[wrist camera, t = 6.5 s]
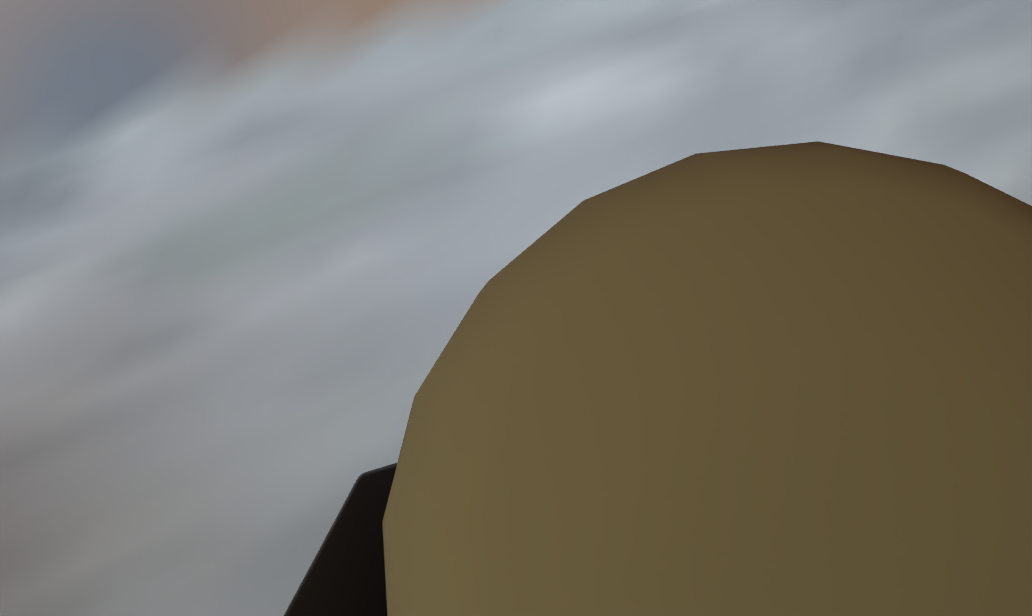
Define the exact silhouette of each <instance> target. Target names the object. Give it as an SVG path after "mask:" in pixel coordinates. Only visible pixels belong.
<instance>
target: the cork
mask: <svg viewBox="0 0 1032 616" xmlns="http://www.w3.org/2000/svg"><path fill="white" fill-rule="evenodd" d="M382 523H383V542H384V560H385V579H386V597H387V616H1032V206H1030V205H1028V204H1026V203H1024V202H1022V201H1020V200H1018V199H1016V198H1014V197H1012V196H1010V195H1008V194H1006V193H1004V192H1002V191H1000V190H998V189H996V188H994V187H992V186H990V185H988V184H986V183H984V182H982V181H979V180H977V179H975V178H973V177H971V176H969V175H967V174H965V173H963V172H960V171H958V170H955V169H953V168H950V167H948V166H945V165H942V164H936V163H931V162H926V161H920V160H915V159H910V158H904V157H899V156H893V155H888V154H883V153H877V152H872V151H867V150H861V149H856V148H850V147H845V146H840V145H834V144H829V143H824V142H809V143H799V144H789V145H779V146H769V147H759V148H749V149H739V150H729V151H719V152H709V153H699V154H694V155H692V156H689V157H687V158H685V159H682V160H680V161H677V162H675V163H673V164H670V165H668V166H665V167H663V168H661V169H658V170H656V171H653V172H651V173H649V174H646V175H644V176H641V177H639V178H637V179H634V180H632V181H629V182H627V183H625V184H622V185H620V186H617V187H615V188H613V189H610V190H608V191H606V192H603V193H601V194H598V195H596V196H594V197H591V198H589V199H586V200H584V201H583V202H581V203H580V204H579V205H578V206H577V207H575V208H574V209H573V210H572V211H571V212H570V213H568V214H567V215H566V216H565V217H564V218H562V219H561V220H560V221H559V222H558V223H557V224H555V225H554V226H553V227H552V228H551V229H549V230H548V231H547V232H546V233H545V234H544V235H542V236H541V237H540V238H539V239H538V240H536V241H535V242H534V243H533V244H532V245H531V246H529V247H528V248H527V249H526V250H525V251H523V252H522V253H521V254H520V255H519V256H518V257H516V258H515V259H514V260H513V261H512V262H510V263H509V264H508V265H507V266H506V267H505V268H503V269H502V270H501V271H500V272H499V273H497V274H496V275H495V276H494V277H493V278H492V279H490V280H489V281H488V283H487V284H486V285H485V286H484V288H483V289H482V290H481V291H480V292H479V294H478V296H477V297H476V299H475V300H474V302H473V304H472V305H471V307H470V308H469V310H468V312H467V313H466V315H465V316H464V318H463V320H462V321H461V323H460V324H459V326H458V328H457V329H456V331H455V332H454V334H453V336H452V337H451V339H450V340H449V342H448V344H447V345H446V347H445V348H444V350H443V352H442V353H441V355H440V356H439V358H438V360H437V361H436V363H435V364H434V366H433V368H432V369H431V371H430V373H429V374H428V376H427V377H426V379H425V381H424V382H423V384H422V385H421V387H420V389H419V390H418V392H417V393H416V395H415V397H414V400H413V404H412V408H411V412H410V416H409V420H408V424H407V428H406V432H405V436H404V439H403V443H402V447H401V451H400V455H399V459H398V463H397V467H396V471H395V475H394V479H393V483H392V487H391V490H390V494H389V498H388V502H387V506H386V510H385V514H384V518H383V522H382Z"/></svg>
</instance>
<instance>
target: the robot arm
mask: <svg viewBox="0 0 1032 616" xmlns="http://www.w3.org/2000/svg"><path fill="white" fill-rule="evenodd" d="M396 467H397V463H395V464H391V465H388V466H385V467H381V468H378V469H375V470H371V471H368V472H365V473H363V474H361V475H360V476H359V477H358V479H357V480H356V482H355V484H354V486H353V488H352V490H351V491H350V493H349V495H348V497H347V499H346V501H345V503H344V505H343V506H342V508H341V510H340V512H339V514H338V516H337V518H336V519H335V521H334V523H333V525H332V527H331V529H330V531H329V532H328V534H327V536H326V538H325V540H324V542H323V544H322V546H321V547H320V549H319V551H318V553H317V555H316V557H315V559H314V560H313V562H312V564H311V566H310V568H309V570H308V572H307V573H306V575H305V577H304V579H303V581H302V583H301V585H300V587H299V588H298V590H297V592H296V594H295V596H294V598H293V600H292V601H291V603H290V605H289V607H288V609H287V611H286V613H285V615H284V616H387V597H386V579H385V560H384V542H383V523H382V522H383V518H384V514H385V510H386V506H387V502H388V498H389V494H390V490H391V487H392V483H393V479H394V475H395V471H396Z"/></svg>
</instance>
